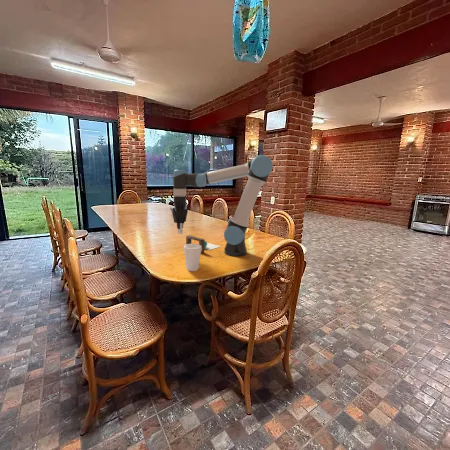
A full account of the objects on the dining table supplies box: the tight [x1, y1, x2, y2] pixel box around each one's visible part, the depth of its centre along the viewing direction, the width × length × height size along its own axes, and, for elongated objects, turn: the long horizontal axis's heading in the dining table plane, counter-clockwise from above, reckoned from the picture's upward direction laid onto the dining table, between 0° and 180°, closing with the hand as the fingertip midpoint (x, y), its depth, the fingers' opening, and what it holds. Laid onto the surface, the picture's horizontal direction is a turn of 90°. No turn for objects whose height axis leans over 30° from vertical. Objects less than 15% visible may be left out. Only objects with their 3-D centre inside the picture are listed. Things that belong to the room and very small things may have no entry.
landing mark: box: [204, 242, 222, 251], centre depth 176 cm, size 12×12×1 cm
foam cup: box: [183, 243, 202, 272], centre depth 132 cm, size 10×9×13 cm
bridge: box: [185, 234, 205, 254], centre depth 165 cm, size 3×14×9 cm, turn 50°
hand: (180, 233), depth 153 cm, fingers closed
